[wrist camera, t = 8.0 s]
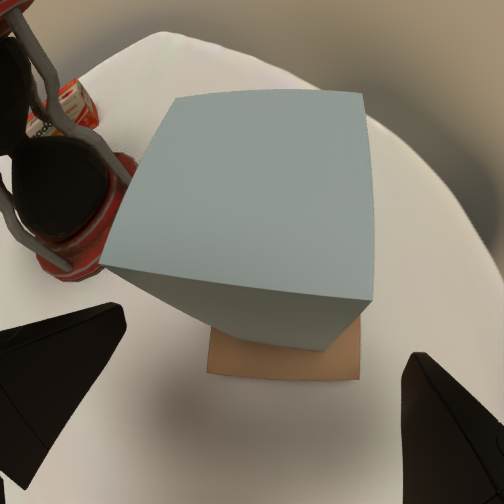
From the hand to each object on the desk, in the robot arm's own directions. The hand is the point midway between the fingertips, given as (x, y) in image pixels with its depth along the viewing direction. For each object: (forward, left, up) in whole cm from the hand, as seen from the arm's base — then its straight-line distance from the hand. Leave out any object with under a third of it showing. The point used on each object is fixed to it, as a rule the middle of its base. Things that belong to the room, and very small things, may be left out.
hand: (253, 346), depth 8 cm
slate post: (+1, +3, -9) cm, 9 cm away
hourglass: (-18, +18, -12) cm, 28 cm away
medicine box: (-28, +38, -13) cm, 49 cm away
